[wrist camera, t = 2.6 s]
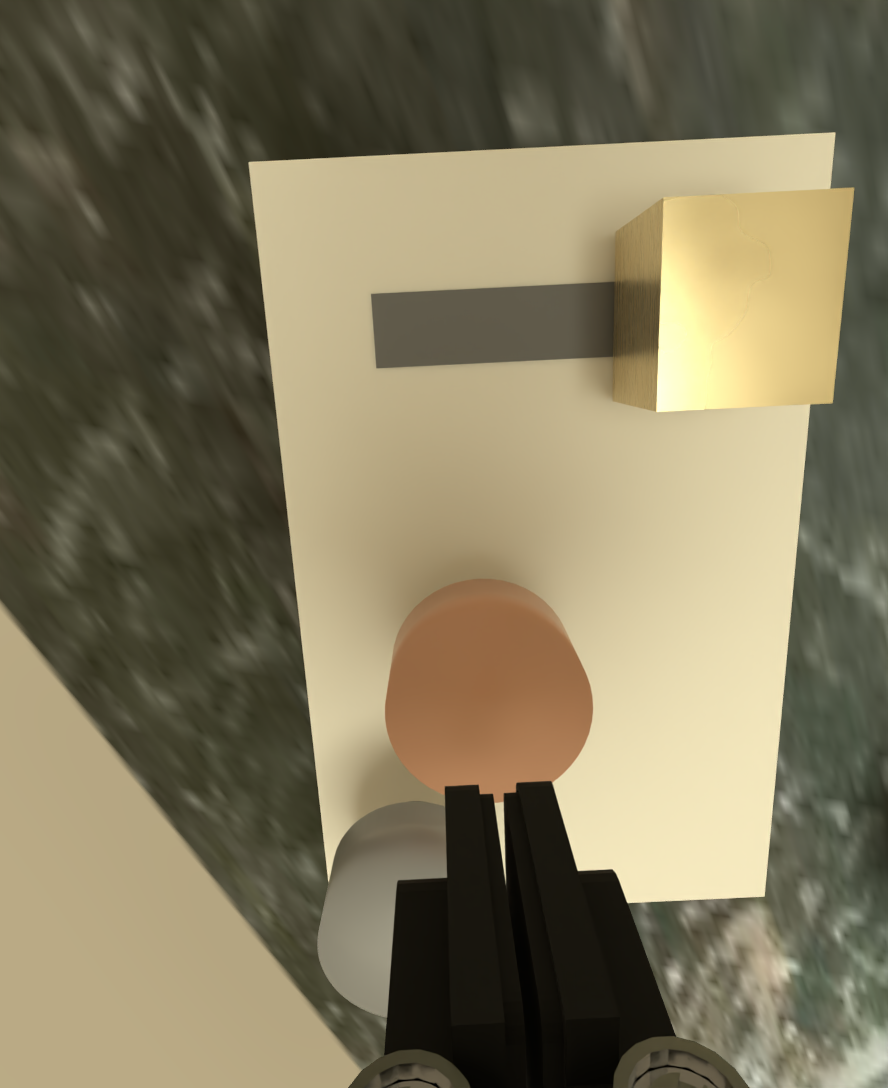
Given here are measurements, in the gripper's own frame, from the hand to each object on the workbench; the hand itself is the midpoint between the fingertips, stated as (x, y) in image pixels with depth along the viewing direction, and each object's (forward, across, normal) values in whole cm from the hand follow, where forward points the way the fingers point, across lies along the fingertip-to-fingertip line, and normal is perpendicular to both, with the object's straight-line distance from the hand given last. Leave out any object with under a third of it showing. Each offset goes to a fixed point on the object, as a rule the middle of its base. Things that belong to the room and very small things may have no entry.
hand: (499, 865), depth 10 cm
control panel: (+12, -2, -2) cm, 12 cm away
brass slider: (+9, -6, -8) cm, 13 cm away
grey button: (+8, +2, +6) cm, 10 cm away
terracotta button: (+8, 0, 0) cm, 8 cm away
